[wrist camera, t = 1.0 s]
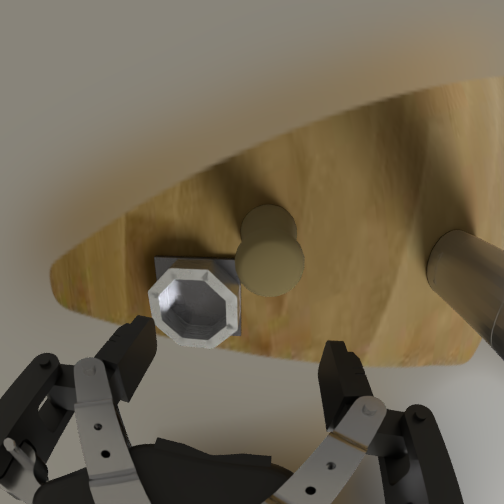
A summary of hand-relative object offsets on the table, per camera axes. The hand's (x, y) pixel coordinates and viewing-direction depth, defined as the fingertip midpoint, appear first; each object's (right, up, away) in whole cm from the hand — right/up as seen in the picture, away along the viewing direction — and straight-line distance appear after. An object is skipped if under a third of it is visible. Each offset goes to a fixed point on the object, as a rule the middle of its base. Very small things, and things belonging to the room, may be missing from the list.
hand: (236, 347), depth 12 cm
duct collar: (-6, -1, +20) cm, 21 cm away
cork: (+2, +6, +18) cm, 19 cm away
